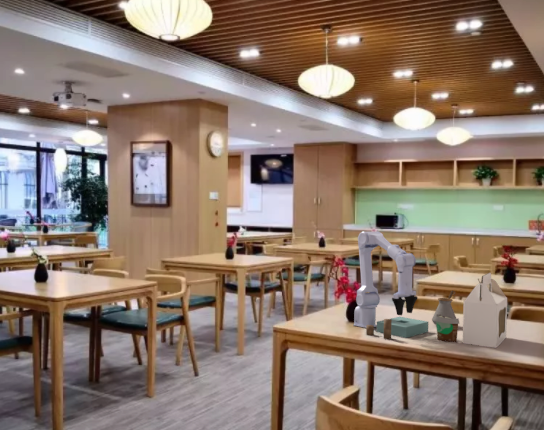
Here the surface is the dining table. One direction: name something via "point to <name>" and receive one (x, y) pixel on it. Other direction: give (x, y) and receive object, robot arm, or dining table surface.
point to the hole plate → (404, 327)
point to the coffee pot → (444, 308)
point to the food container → (446, 328)
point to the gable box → (485, 314)
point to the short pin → (370, 330)
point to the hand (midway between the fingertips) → (404, 313)
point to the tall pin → (387, 328)
